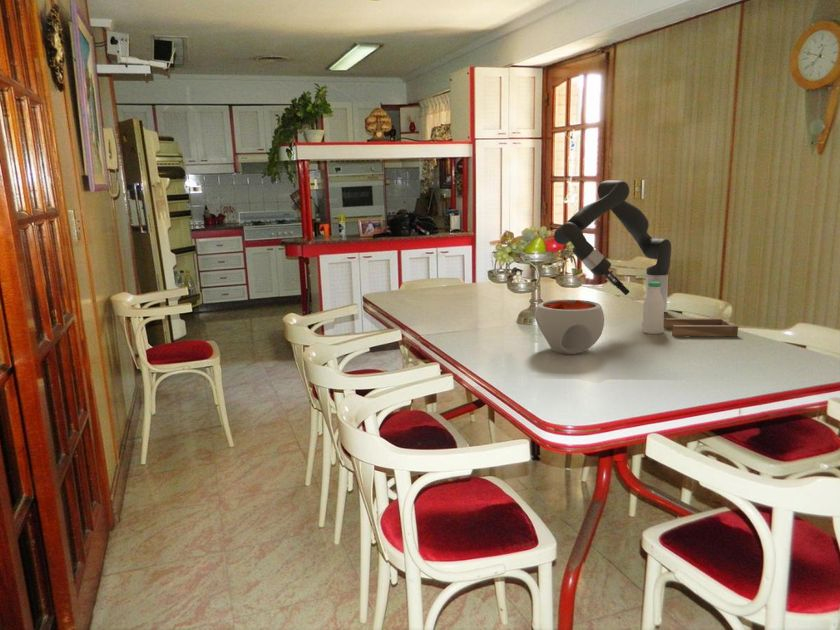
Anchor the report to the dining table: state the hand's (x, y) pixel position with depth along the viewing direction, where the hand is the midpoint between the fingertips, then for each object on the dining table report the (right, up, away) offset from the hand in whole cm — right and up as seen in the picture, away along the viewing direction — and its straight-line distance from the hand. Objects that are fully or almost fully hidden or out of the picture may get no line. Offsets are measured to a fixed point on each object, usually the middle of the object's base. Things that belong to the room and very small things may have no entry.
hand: (627, 293), depth 246 cm
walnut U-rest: (+27, -15, -1) cm, 31 cm away
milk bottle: (+10, -16, +2) cm, 19 cm away
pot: (-28, -22, -22) cm, 42 cm away
